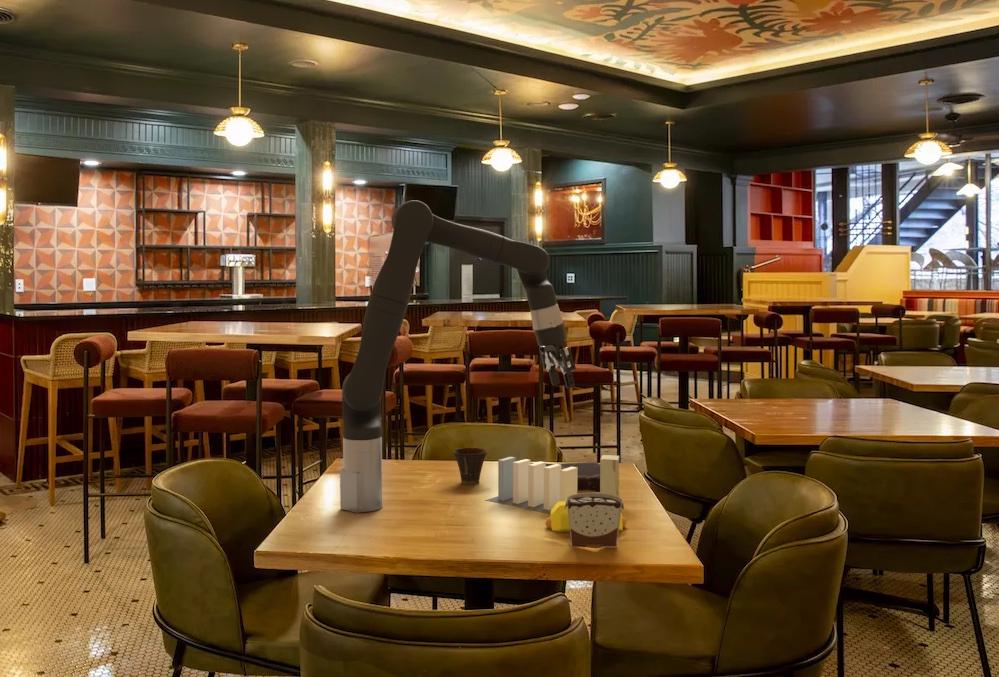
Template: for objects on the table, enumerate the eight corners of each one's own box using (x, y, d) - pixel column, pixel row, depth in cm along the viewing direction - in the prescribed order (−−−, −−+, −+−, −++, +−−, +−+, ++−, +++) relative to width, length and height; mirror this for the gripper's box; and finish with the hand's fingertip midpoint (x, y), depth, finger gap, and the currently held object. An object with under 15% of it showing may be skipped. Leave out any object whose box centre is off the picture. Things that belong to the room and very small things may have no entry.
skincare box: (617, 510, 201) (618, 460, 201) (599, 509, 202) (599, 459, 201) (619, 504, 208) (619, 454, 207) (601, 503, 208) (602, 454, 208)
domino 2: (518, 503, 205) (518, 463, 205) (513, 502, 206) (513, 462, 206) (530, 499, 209) (530, 459, 208) (525, 498, 210) (525, 459, 209)
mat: (569, 520, 193) (569, 517, 193) (485, 502, 208) (485, 500, 208) (592, 511, 201) (592, 508, 201) (509, 494, 216) (509, 492, 216)
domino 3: (533, 506, 202) (533, 465, 202) (528, 505, 203) (528, 464, 203) (545, 502, 206) (545, 462, 206) (540, 501, 207) (540, 461, 207)
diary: (615, 494, 220) (616, 475, 220) (522, 498, 216) (522, 479, 215) (594, 477, 239) (594, 459, 238) (507, 480, 234) (507, 463, 234)
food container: (618, 538, 180) (619, 492, 179) (624, 547, 173) (624, 499, 173) (561, 538, 179) (561, 492, 179) (564, 547, 173) (564, 499, 172)
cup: (496, 484, 225) (491, 447, 224) (464, 491, 222) (459, 454, 221) (484, 478, 233) (479, 443, 232) (454, 485, 230) (449, 449, 229)
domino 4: (549, 510, 199) (549, 468, 199) (543, 509, 200) (543, 467, 200) (561, 505, 203) (561, 464, 203) (555, 504, 204) (555, 463, 204)
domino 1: (503, 500, 208) (503, 460, 207) (498, 499, 209) (498, 459, 208) (515, 496, 212) (515, 457, 211) (510, 495, 213) (510, 456, 212)
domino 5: (565, 513, 197) (565, 471, 196) (559, 512, 198) (560, 470, 197) (577, 509, 201) (577, 467, 200) (571, 507, 202) (571, 466, 201)
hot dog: (630, 535, 182) (623, 525, 190) (630, 505, 182) (623, 496, 189) (546, 536, 181) (543, 526, 189) (547, 506, 181) (543, 497, 189)
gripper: (523, 328, 217) (539, 388, 219) (546, 329, 204) (562, 393, 206) (549, 320, 220) (564, 379, 222) (573, 320, 207) (589, 384, 209)
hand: (563, 386), depth 214 cm, fingers open, 8 cm apart
